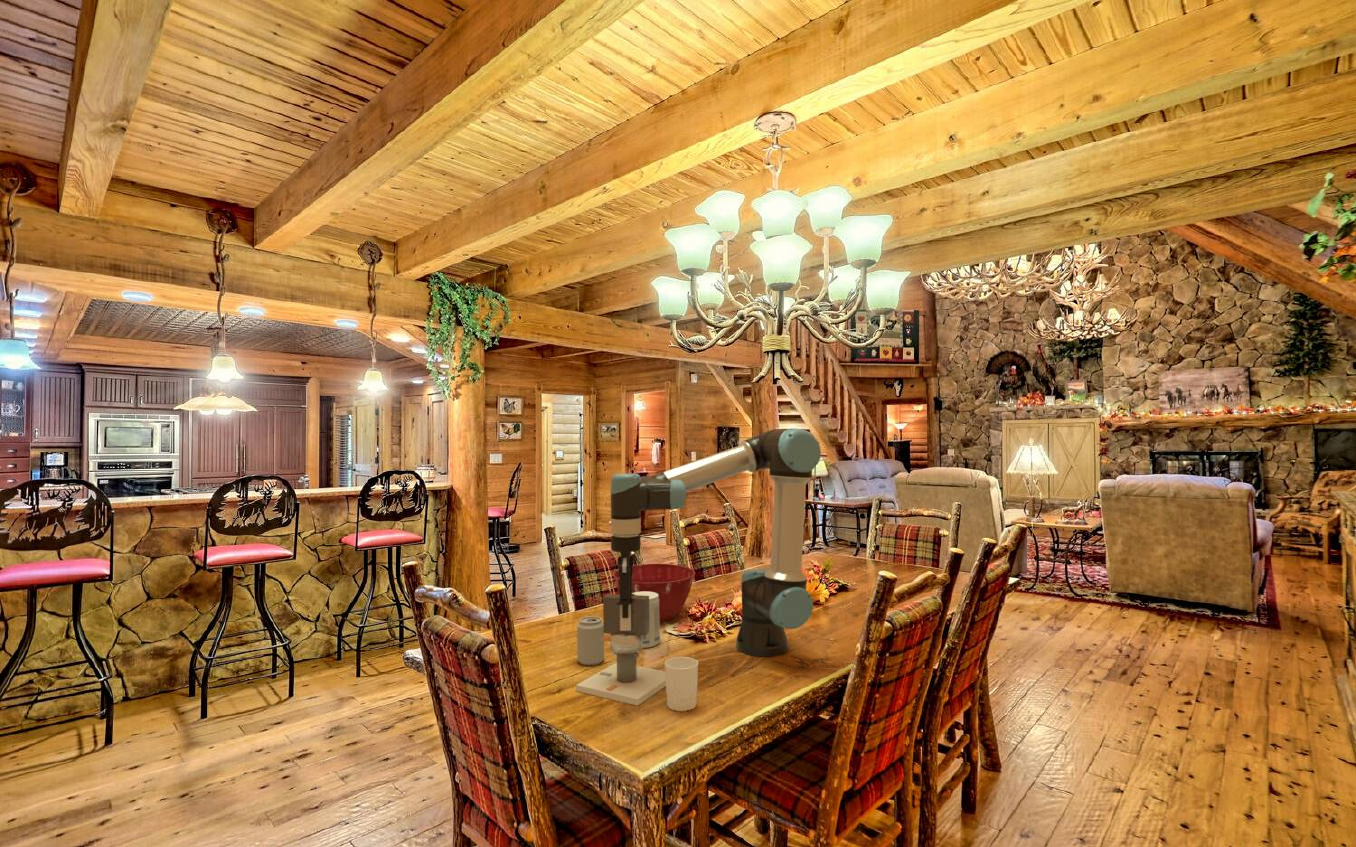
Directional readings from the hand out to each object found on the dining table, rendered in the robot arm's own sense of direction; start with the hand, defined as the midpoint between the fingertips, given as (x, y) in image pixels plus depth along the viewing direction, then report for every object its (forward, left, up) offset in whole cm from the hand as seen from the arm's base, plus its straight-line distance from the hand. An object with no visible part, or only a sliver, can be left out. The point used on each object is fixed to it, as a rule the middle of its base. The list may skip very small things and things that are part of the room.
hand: (626, 626), depth 160 cm
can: (+18, -9, -15) cm, 25 cm away
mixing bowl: (+25, -55, -15) cm, 62 cm away
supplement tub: (+13, -29, -15) cm, 35 cm away
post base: (0, 0, -15) cm, 15 cm away
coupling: (0, 0, -5) cm, 5 cm away
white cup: (-18, +4, -15) cm, 24 cm away
